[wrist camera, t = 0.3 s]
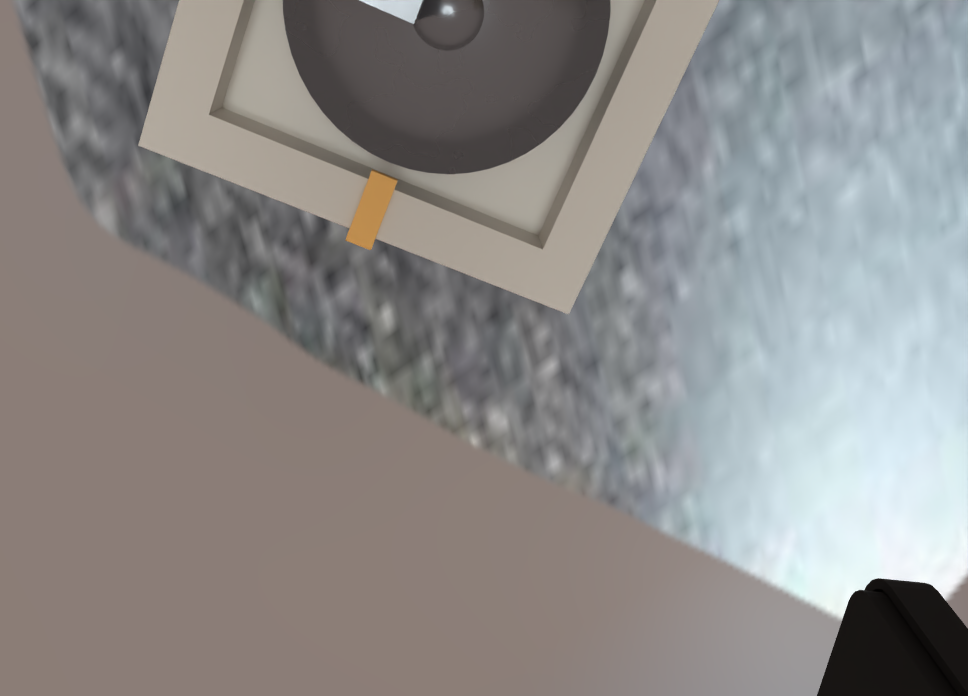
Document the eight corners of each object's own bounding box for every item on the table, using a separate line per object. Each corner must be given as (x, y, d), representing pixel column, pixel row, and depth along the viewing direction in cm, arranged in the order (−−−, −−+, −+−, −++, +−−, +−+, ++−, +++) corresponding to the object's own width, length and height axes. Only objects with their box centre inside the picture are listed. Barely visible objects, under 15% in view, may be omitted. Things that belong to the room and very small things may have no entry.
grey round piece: (652, -81, 32) (697, -95, 26) (525, 204, 36) (540, 250, 30) (347, -228, 31) (320, -278, 24) (247, 90, 34) (202, 114, 28)
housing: (294, -356, 31) (274, -399, 27) (753, -127, 34) (788, -139, 30) (153, 135, 36) (121, 153, 33) (555, 294, 39) (565, 325, 36)
